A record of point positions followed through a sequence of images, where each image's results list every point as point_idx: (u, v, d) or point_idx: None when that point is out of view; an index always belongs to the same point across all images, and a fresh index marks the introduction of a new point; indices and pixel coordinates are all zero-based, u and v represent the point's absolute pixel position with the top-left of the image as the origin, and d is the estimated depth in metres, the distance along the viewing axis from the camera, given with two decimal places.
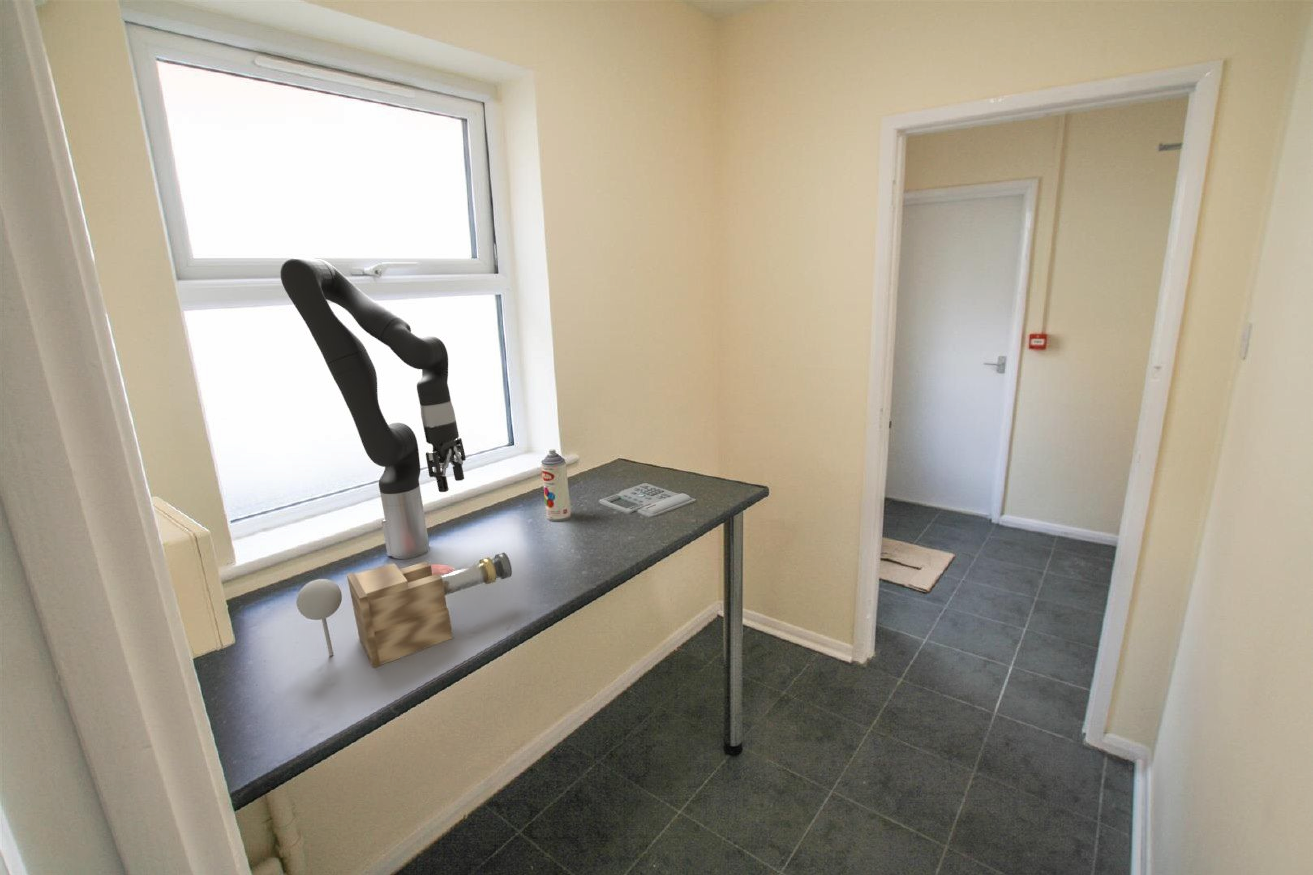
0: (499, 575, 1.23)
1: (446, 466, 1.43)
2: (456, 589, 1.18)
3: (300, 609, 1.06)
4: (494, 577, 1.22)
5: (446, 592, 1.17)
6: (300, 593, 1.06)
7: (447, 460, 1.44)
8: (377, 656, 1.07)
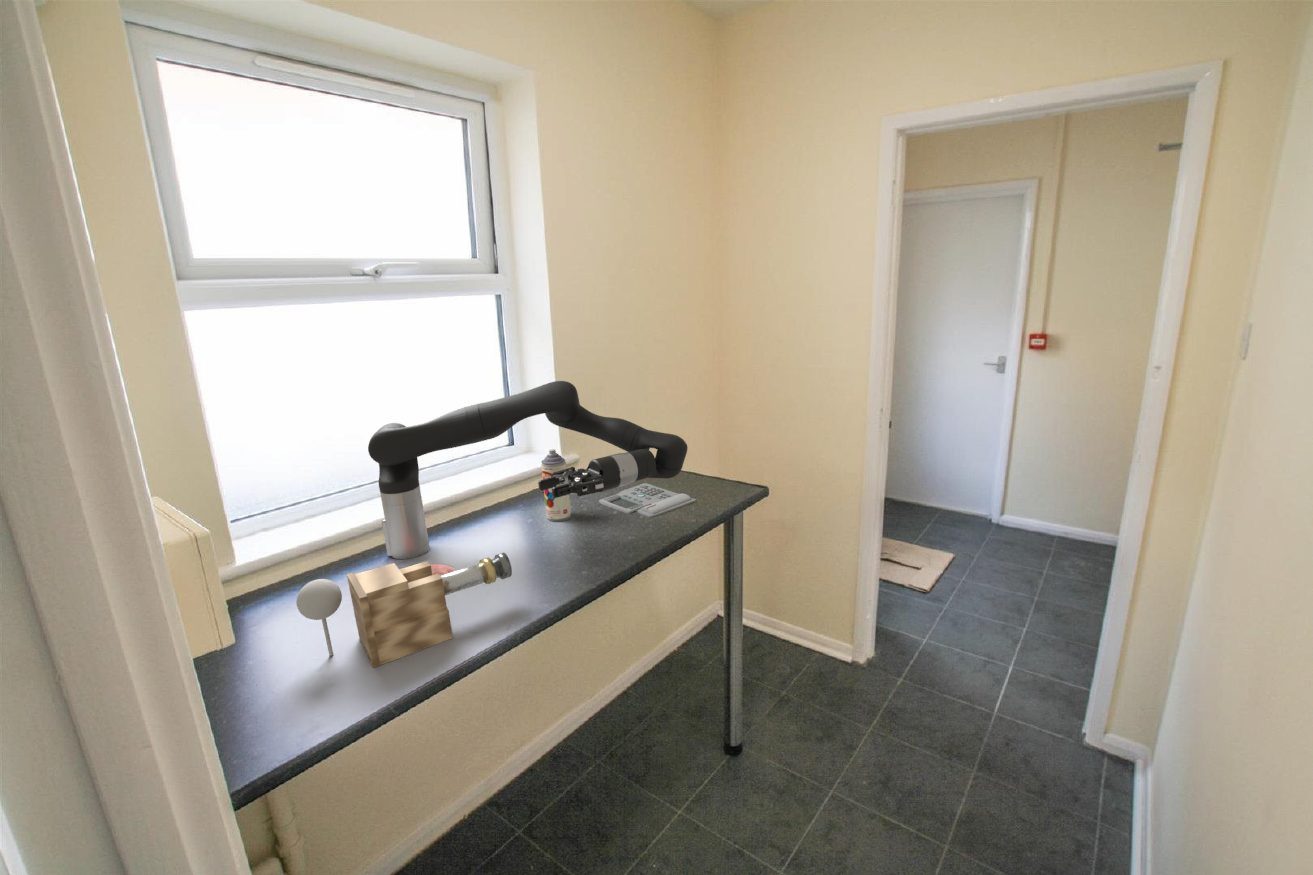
0: (499, 575, 1.23)
1: None
2: (456, 589, 1.18)
3: (300, 609, 1.06)
4: (494, 577, 1.22)
5: (446, 592, 1.17)
6: (300, 593, 1.06)
7: None
8: (377, 656, 1.07)
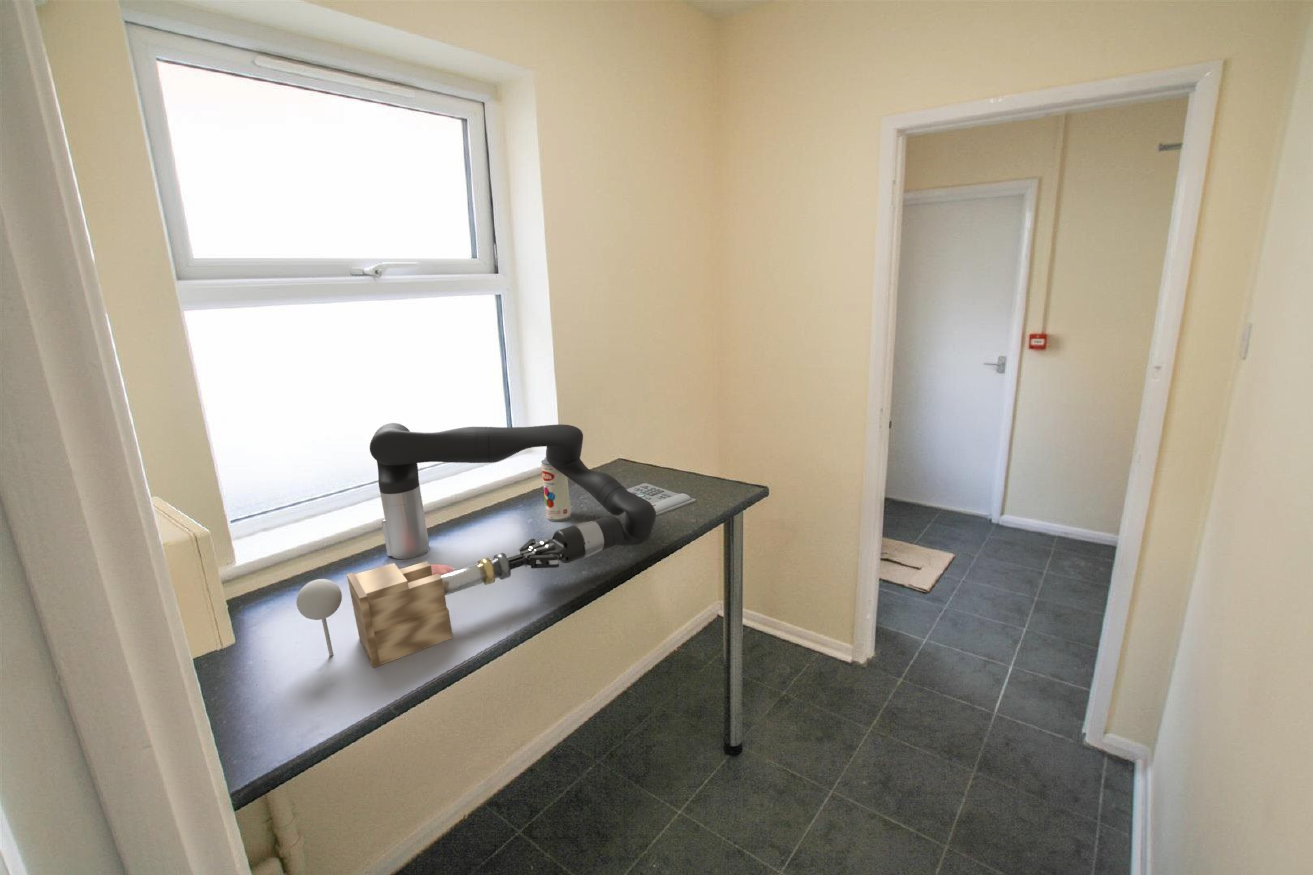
0: (498, 575, 1.23)
1: None
2: (455, 589, 1.18)
3: (300, 609, 1.06)
4: (493, 577, 1.22)
5: (445, 592, 1.17)
6: (300, 593, 1.06)
7: None
8: (377, 656, 1.07)
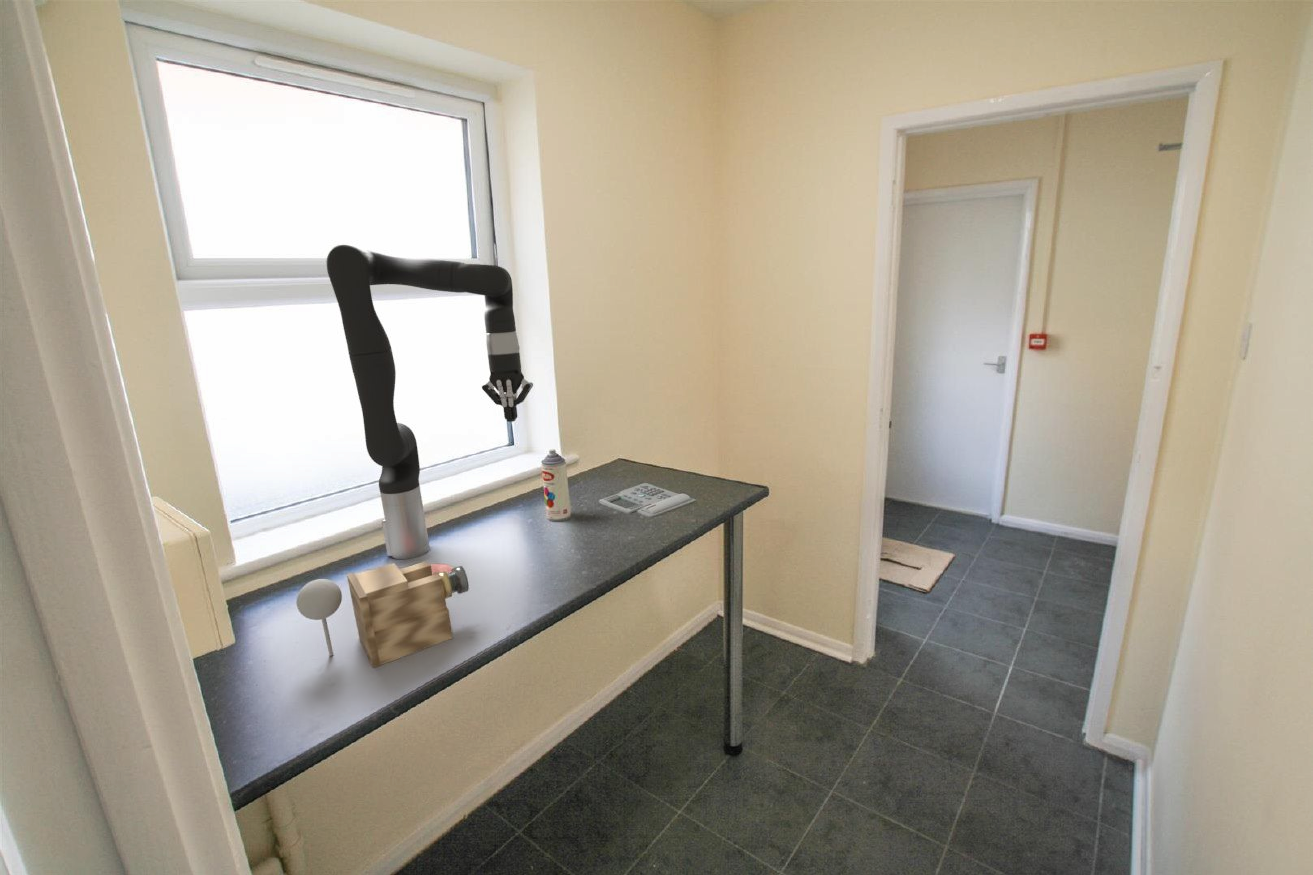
0: (455, 590, 1.18)
1: None
2: None
3: (300, 609, 1.06)
4: (449, 592, 1.17)
5: None
6: (300, 593, 1.06)
7: None
8: (377, 656, 1.07)
